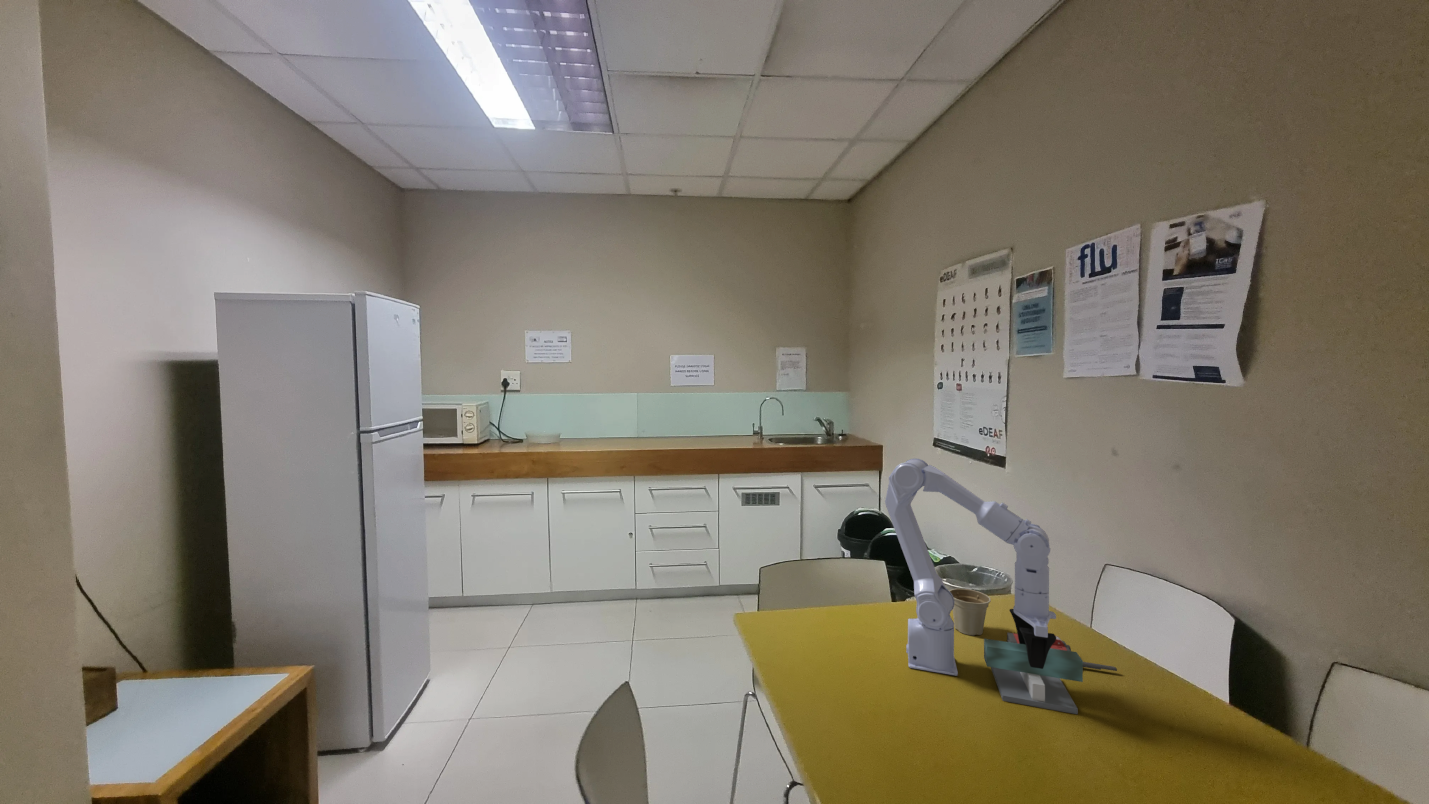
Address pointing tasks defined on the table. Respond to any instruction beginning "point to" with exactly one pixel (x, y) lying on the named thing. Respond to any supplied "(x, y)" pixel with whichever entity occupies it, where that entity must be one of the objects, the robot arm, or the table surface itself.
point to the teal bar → (1017, 660)
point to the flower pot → (969, 610)
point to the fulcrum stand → (1033, 690)
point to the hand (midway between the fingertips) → (1031, 657)
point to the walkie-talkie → (1062, 646)
